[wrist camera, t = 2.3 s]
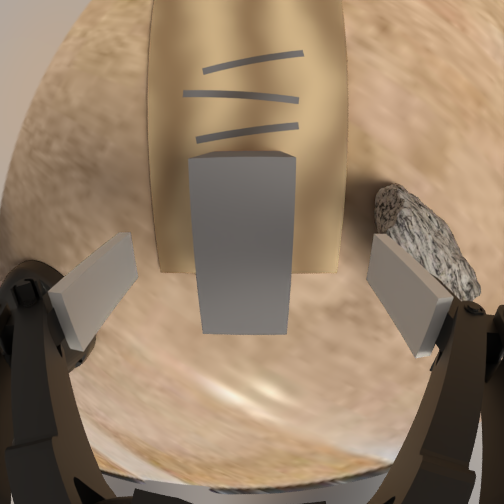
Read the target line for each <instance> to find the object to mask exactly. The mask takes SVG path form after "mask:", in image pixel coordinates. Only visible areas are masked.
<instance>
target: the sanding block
mask: <svg viewBox="0 0 504 504" xmlns="http://www.w3.org/2000/svg"><path fill="white" fill-rule="evenodd" d="M188 168H189V189H190V207H191V221H192V235H193V247H194V258H195V269H196V279H197V289H198V298H199V306H200V315H201V323H202V330H203V334H230V335H285V334H287V325H288V313H289V300H290V287H291V272H292V255H293V237H294V215H295V188H296V157H294V156H291V155H289V154H287V153H284V152H282V151H269V150H240V151H214V152H210V153H206V154H203V155H199V156H196V157H192V158H189V159H188Z"/></svg>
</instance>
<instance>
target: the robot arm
mask: <svg viewBox="0 0 504 504" xmlns="http://www.w3.org/2000/svg"><path fill="white" fill-rule="evenodd" d="M137 278H138V273H137V268H136V262H135V256H134V250H133V244H132V238H131V232H119V233H118V234H116V235H115V236H114V237H112V238H111V239H110V240H109V241H107V242H106V243H105V244H103V245H102V246H101V247H100V248H98V249H97V250H96V251H95V252H93V253H92V254H91V255H90V256H88V257H87V258H86V259H85V260H83V261H82V262H81V263H80V264H79V265H77V266H76V267H75V268H74V269H73V270H72V271H70V272H69V273H68V274H67V275H66V276H65V277H63V276H62V275H61V274H59V273H58V272H57V271H55V270H54V269H53V268H51V267H49V266H48V265H46V264H43V263H41V262H37V261H26V262H23V263H21V264H20V265H18V266H17V267H16V268H14V269H13V270H12V271H11V272H10V273H9V274H8V275H7V276H6V278H5V280H4V282H3V283H2V285H1V287H0V504H11V493H12V497H13V501H14V504H192V503H189V502H187V501H184V500H182V499H179V498H175V497H170V496H165V495H160V494H156V493H151V492H147V491H143V490H139V489H135V491H134V494H133V496H128V497H116V495H115V494H114V492H113V491H112V490H111V489H110V487H109V486H108V485H107V483H106V481H105V480H104V478H103V476H102V473H101V471H100V469H99V467H98V464H97V462H96V459H95V457H94V455H93V452H92V449H91V447H90V444H89V441H88V439H87V436H86V433H85V430H84V427H83V424H82V421H81V418H80V415H79V411H78V408H77V404H76V401H75V397H74V393H73V390H72V386H71V381H70V377H69V373H70V372H71V371H72V370H73V369H74V368H76V367H78V366H80V365H81V364H83V363H84V362H85V360H86V359H87V358H88V356H89V354H90V353H91V351H92V350H93V348H94V345H95V341H96V333H97V332H98V330H99V329H100V327H101V326H102V325H103V323H104V322H105V320H106V319H107V318H108V316H109V315H110V314H111V312H112V311H113V310H114V308H115V307H116V306H117V304H118V303H119V302H120V300H121V299H122V298H123V296H124V295H125V294H126V292H127V291H128V290H129V288H130V287H131V286H132V285H133V283H134V282H135V281H136V280H137ZM366 280H367V281H368V283H369V284H370V286H371V287H372V289H373V290H374V292H375V293H376V295H377V296H378V298H379V300H380V301H381V303H382V304H383V306H384V307H385V309H386V310H387V312H388V314H389V315H390V317H391V318H392V320H393V322H394V323H395V325H396V327H397V328H398V330H399V331H400V333H401V335H402V336H403V338H404V340H405V341H406V343H407V345H408V347H409V348H410V350H411V352H412V353H413V355H414V357H415V358H420V357H425V356H430V355H431V352H432V350H433V348H434V346H435V344H436V345H437V346H438V348H439V349H440V350H439V352H438V354H437V356H436V358H435V360H434V362H433V364H432V366H431V368H430V371H432V373H431V376H430V379H429V382H428V385H427V388H426V391H425V393H424V396H423V399H422V401H421V404H420V407H419V409H418V412H417V414H416V417H415V419H414V421H413V424H412V426H411V428H410V430H409V433H408V435H407V437H406V439H405V441H404V443H403V445H402V447H401V449H400V451H399V453H398V455H397V457H396V459H395V461H394V463H393V465H392V467H391V468H390V470H389V472H388V474H387V476H386V477H385V479H384V481H383V483H382V484H381V486H380V487H379V489H378V490H377V492H376V494H375V495H374V496H373V497H372V499H371V500H370V501H369V502H368V503H367V504H468V502H469V499H470V496H471V493H472V490H473V487H474V484H475V479H476V474H475V471H471V470H469V462H470V459H471V455H472V451H473V447H474V443H475V438H476V433H477V429H478V424H479V418H480V413H481V419H482V444H483V453H482V459H483V460H482V479H481V491H480V500H479V504H504V305H500V306H499V307H498V309H497V312H496V314H495V315H487V314H486V312H485V310H484V309H483V308H482V307H481V306H480V305H479V304H477V303H475V302H472V301H468V300H466V301H461V300H460V299H459V298H458V297H457V296H456V295H455V294H454V293H453V292H452V291H451V290H450V289H448V287H447V286H446V285H445V284H443V282H442V281H441V280H439V279H438V278H437V277H436V276H434V275H432V274H430V273H429V272H428V271H427V270H426V269H425V268H424V267H423V266H422V265H420V264H419V263H418V262H417V261H416V260H415V259H414V258H413V257H412V256H411V255H410V254H408V253H407V252H406V251H405V250H404V249H403V248H402V247H401V246H399V245H398V244H397V243H396V242H395V241H394V240H393V239H391V238H390V237H389V236H388V235H387V234H374V237H373V243H372V250H371V256H370V262H369V267H368V273H367V278H366ZM502 357H503V359H502ZM501 359H502V360H501ZM304 504H326V501H323V502H315V503H304Z"/></svg>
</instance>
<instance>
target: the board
mask: <svg viewBox="0 0 504 504" xmlns="http://www.w3.org/2000/svg"><path fill="white" fill-rule="evenodd" d="M148 149H149V168H150V183H151V195H152V206H153V216H154V226H155V234H156V242H157V250H158V257H159V264H160V271H161V273H196V269H195V258H194V247H193V235H192V221H191V207H190V189H189V168H188V159H189V158H192V157H196V156H199V155H203V154H206V153H210V152H214V151H240V150H269V151H282V152H284V153H287V154H289V155H291V156H294V157H296V188H295V215H294V237H293V255H292V272H291V274H293V273H337V268H338V260H339V252H340V244H341V235H342V225H343V215H344V203H345V190H346V174H347V153H348V70H347V51H346V37H345V25H344V15H343V6H342V0H154V4H153V12H152V22H151V32H150V46H149V63H148Z"/></svg>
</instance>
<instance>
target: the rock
mask: <svg viewBox="0 0 504 504" xmlns="http://www.w3.org/2000/svg"><path fill="white" fill-rule="evenodd" d="M374 217H375V224H376V227H377V230H378V233H379V234H387V235H388V236H389V237H390V238H391V239H393V240H394V241H395V242H396V243H397V244H398V245H399V246H401V247H402V248H403V249H404V250H405V251H406V252H407V253H408V254H410V255H411V256H412V257H413V258H414V259H415V260H416V261H417V262H418V263H419V264H420V265H422V266H423V267H424V268H425V269H426V270H427V271H428V272H429V273H430V274H432V275H434V276H436V277H437V278H438V279H439V280H441V281H442V282H443V284H445V285H446V286H447V287H448V289H450V290H451V291H452V292H453V293H454V294H455V295H456V296H457V297H458V298H459V299H460V300H461V301H466V300H468V301H472V302H473V300H474V299H475V298H476V297H478V296H480V293H481V287H480V284H479V283H478V281H477V278H476V274H475V272H474V270H473V268H472V267H471V266H470V265H469V263H468V262H467V260H466V259H465V258H464V257H463V256H462V254H461V252H460V249H459V247H458V245H457V243H456V240H455V238H454V236H453V234H452V232H451V230H450V228H449V226H448V225H447V224H446V223H445V221H444V220H442V219H441V218H440V217H438V216H437V215H436V214H435V213H434V212H433V211H432V210H430V209H429V208H428V207H427V206H426V205H424V204H423V203H422V202H421V201H420V199H419V198H418V197H416V196H414V195H413V194H409V193H408V191H407V190H406V189H405V188H404V187H403V186H401V185H399V184H396V183H395V184H391V185H390V186H387V187H385V188H381V189H380V190H379V191H378V193H377V195H376V198H375V211H374Z"/></svg>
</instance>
